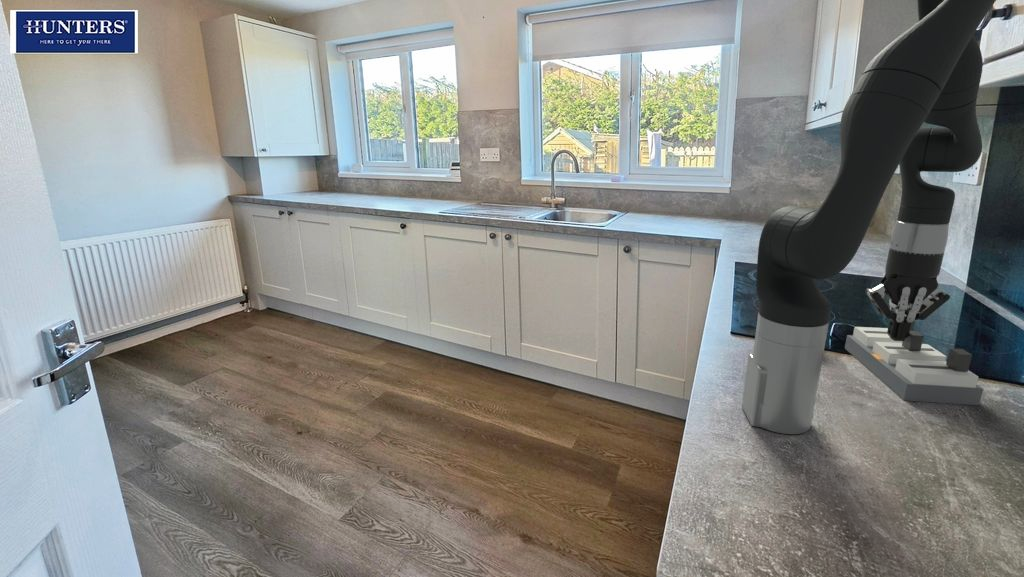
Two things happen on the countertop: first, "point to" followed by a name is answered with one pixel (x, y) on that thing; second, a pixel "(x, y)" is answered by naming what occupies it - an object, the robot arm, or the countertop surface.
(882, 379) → the box
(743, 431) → the countertop surface
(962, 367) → the block
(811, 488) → the countertop surface
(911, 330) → the block
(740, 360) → the countertop surface
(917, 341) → the block
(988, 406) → the countertop surface
